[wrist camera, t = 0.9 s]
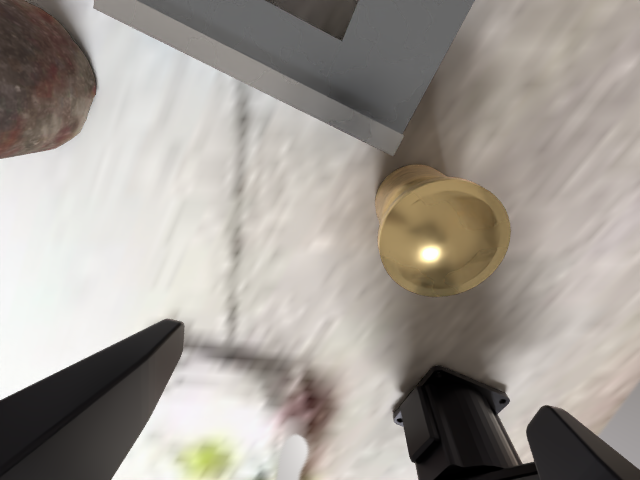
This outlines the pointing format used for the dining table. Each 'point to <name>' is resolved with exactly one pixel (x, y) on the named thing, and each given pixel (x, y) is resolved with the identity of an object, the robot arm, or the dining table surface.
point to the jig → (314, 54)
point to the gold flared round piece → (439, 231)
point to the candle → (39, 81)
